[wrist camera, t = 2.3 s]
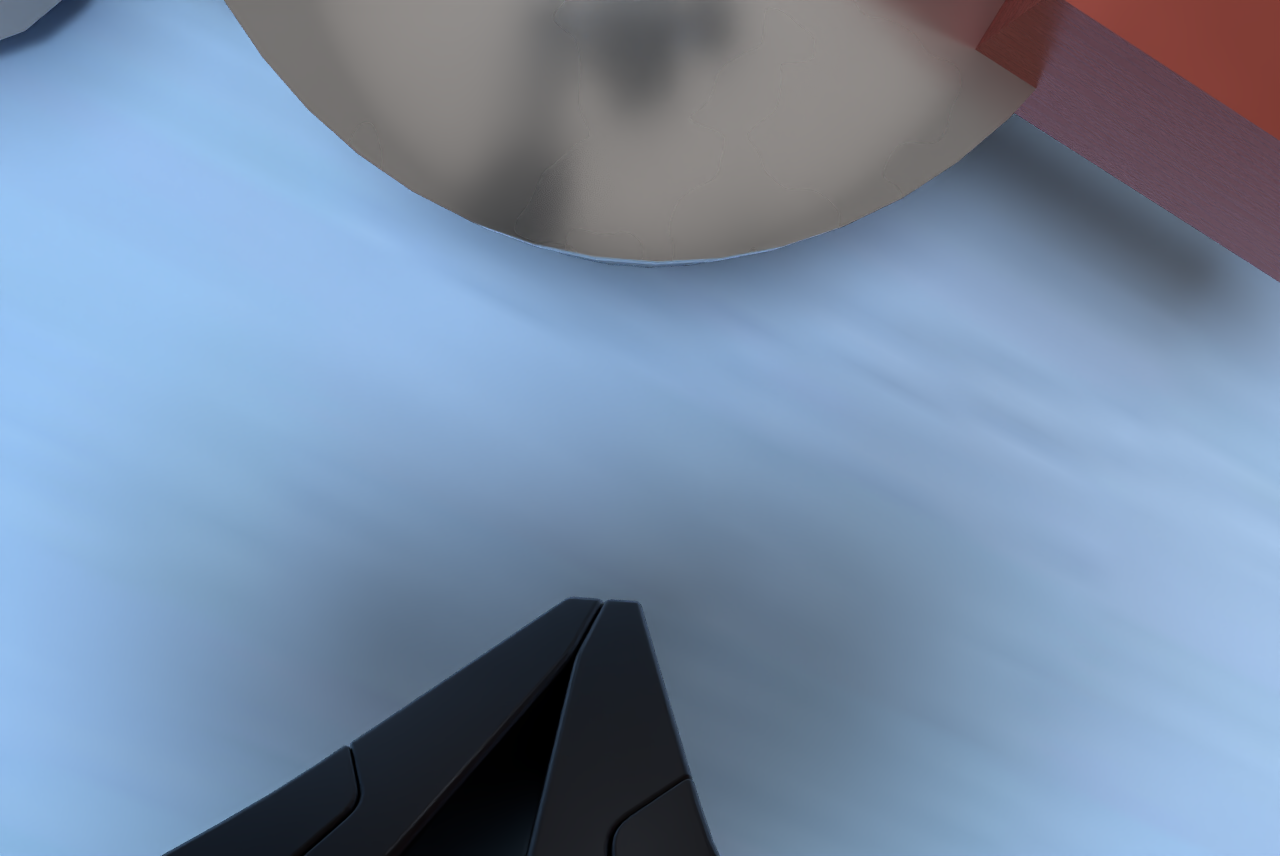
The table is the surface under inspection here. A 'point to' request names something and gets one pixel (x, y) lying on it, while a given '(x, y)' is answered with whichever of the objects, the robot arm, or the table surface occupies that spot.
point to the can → (21, 14)
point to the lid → (779, 108)
